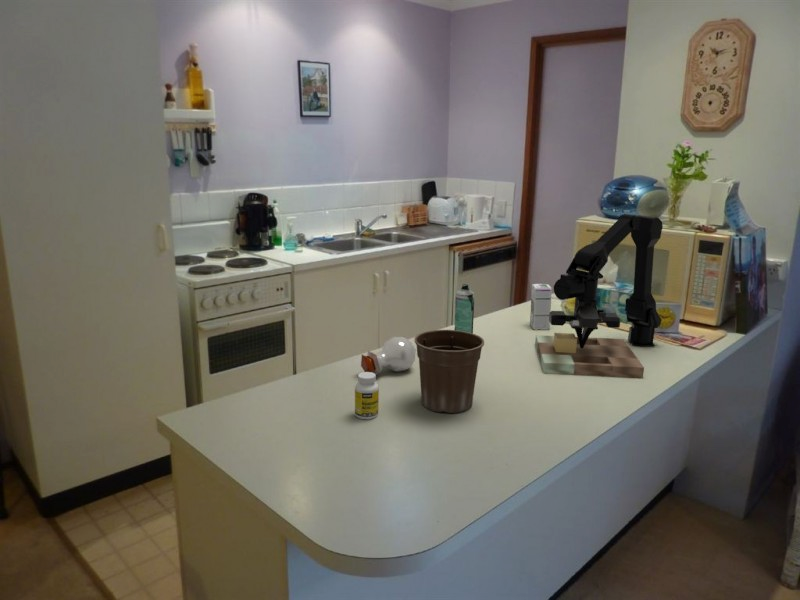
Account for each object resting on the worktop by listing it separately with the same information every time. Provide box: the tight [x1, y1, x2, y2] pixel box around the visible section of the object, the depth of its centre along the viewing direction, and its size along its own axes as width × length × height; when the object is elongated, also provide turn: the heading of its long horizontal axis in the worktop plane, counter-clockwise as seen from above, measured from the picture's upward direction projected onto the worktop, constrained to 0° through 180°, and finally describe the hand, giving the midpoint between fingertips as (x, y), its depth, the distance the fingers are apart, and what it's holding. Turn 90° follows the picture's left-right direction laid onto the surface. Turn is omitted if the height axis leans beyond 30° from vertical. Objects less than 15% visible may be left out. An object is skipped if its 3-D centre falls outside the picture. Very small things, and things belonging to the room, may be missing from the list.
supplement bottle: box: [354, 371, 380, 420], centre depth 141 cm, size 5×5×10 cm
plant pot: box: [413, 329, 485, 414], centre depth 146 cm, size 16×16×16 cm
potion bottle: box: [360, 336, 417, 375], centre depth 167 cm, size 9×10×15 cm
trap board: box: [534, 334, 645, 379], centre depth 177 cm, size 26×24×3 cm
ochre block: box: [553, 332, 577, 353], centre depth 177 cm, size 6×6×4 cm
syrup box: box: [529, 283, 553, 331], centre depth 206 cm, size 6×6×14 cm
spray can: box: [453, 283, 475, 334], centre depth 183 cm, size 6×6×20 cm
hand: (581, 347), depth 177 cm, fingers closed
